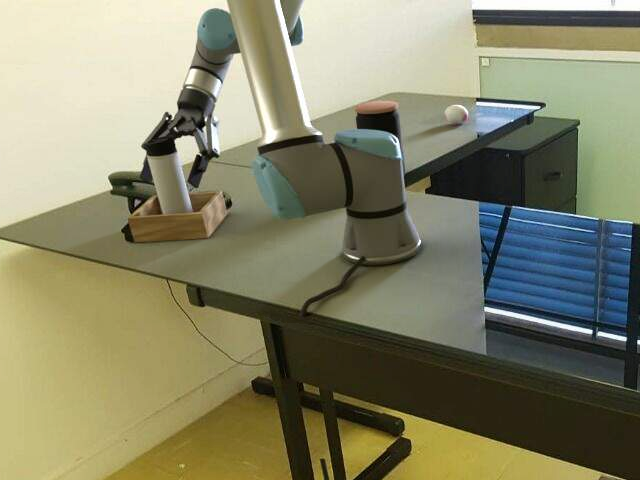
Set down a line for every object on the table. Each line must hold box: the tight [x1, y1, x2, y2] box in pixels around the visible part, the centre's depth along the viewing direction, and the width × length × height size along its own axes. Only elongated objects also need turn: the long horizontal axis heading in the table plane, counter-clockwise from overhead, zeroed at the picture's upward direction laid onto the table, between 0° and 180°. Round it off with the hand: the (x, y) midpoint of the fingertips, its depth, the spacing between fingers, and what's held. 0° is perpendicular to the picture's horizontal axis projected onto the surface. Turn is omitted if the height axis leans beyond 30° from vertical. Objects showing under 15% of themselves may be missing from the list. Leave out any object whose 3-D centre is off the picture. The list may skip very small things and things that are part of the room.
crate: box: [126, 190, 228, 243], centre depth 175 cm, size 16×16×6 cm
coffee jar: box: [353, 100, 407, 177], centre depth 196 cm, size 11×11×18 cm
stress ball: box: [444, 104, 469, 127], centre depth 249 cm, size 8×8×7 cm
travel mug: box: [144, 135, 193, 215], centre depth 171 cm, size 6×7×20 cm
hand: (168, 183), depth 170 cm, fingers open, 13 cm apart
